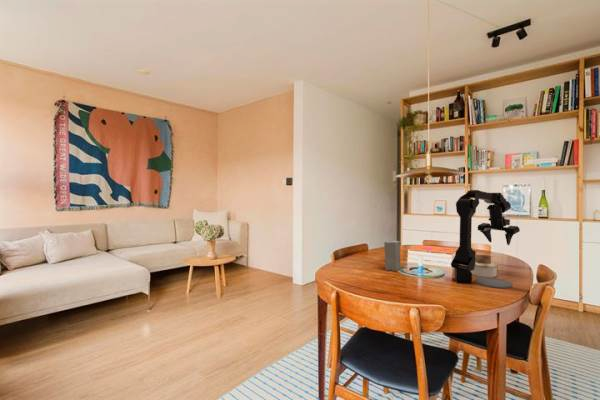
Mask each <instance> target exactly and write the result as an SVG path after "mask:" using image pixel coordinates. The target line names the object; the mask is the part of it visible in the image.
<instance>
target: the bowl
mask: <svg viewBox="0 0 600 400" xmlns="http://www.w3.org/2000/svg"><path fill="white" fill-rule="evenodd" d="M497 268H498V267H496V268H483V267H477V266H475V267H474V270H471V273H472V276H477V277H491V278H496V277H498V269H497Z"/></svg>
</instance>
